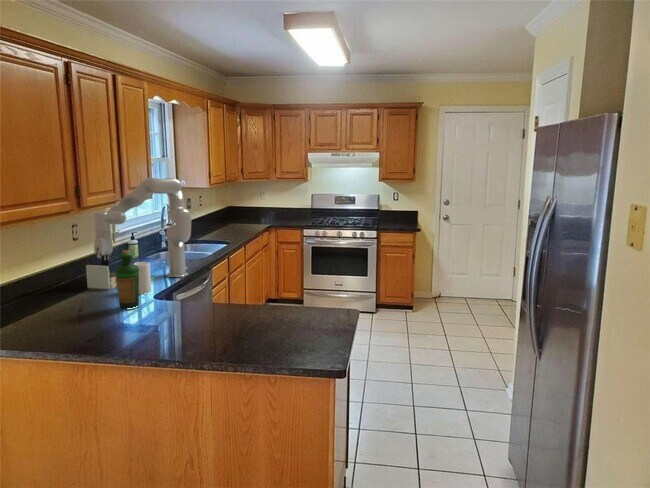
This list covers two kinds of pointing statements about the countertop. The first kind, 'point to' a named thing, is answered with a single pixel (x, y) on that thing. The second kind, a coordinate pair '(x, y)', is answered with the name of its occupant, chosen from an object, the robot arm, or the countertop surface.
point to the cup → (144, 277)
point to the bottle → (127, 282)
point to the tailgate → (98, 277)
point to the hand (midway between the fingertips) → (105, 266)
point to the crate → (112, 280)
